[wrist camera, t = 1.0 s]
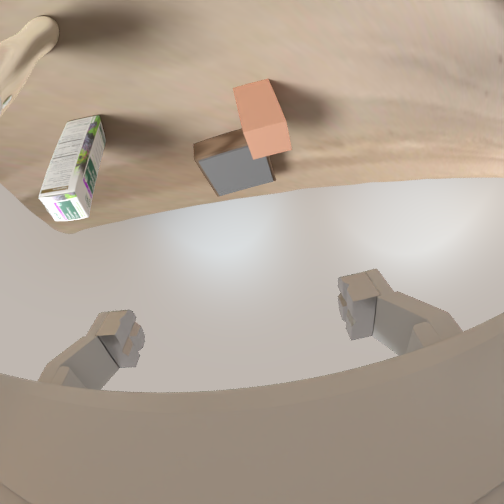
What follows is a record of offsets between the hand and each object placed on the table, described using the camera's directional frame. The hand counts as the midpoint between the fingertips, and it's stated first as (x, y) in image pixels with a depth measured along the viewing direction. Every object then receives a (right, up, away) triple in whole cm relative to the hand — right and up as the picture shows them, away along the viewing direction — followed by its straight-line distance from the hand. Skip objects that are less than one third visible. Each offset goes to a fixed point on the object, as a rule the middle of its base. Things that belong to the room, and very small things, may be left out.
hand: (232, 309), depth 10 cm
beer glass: (-25, +28, +6) cm, 38 cm away
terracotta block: (+1, +24, +25) cm, 35 cm away
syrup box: (-24, +21, +23) cm, 39 cm away
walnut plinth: (-2, +19, +35) cm, 40 cm away
